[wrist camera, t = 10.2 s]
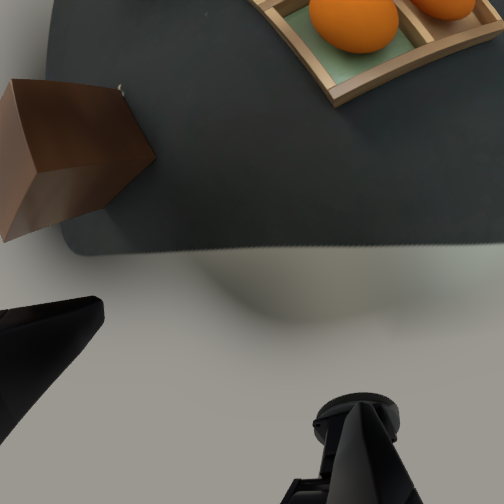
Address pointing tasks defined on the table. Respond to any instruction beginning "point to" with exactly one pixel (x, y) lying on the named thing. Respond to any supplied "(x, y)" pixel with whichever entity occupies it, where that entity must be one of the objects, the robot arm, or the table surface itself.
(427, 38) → the fruit rack
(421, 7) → the clementine
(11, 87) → the brown wooden block
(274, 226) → the table surface
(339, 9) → the clementine
